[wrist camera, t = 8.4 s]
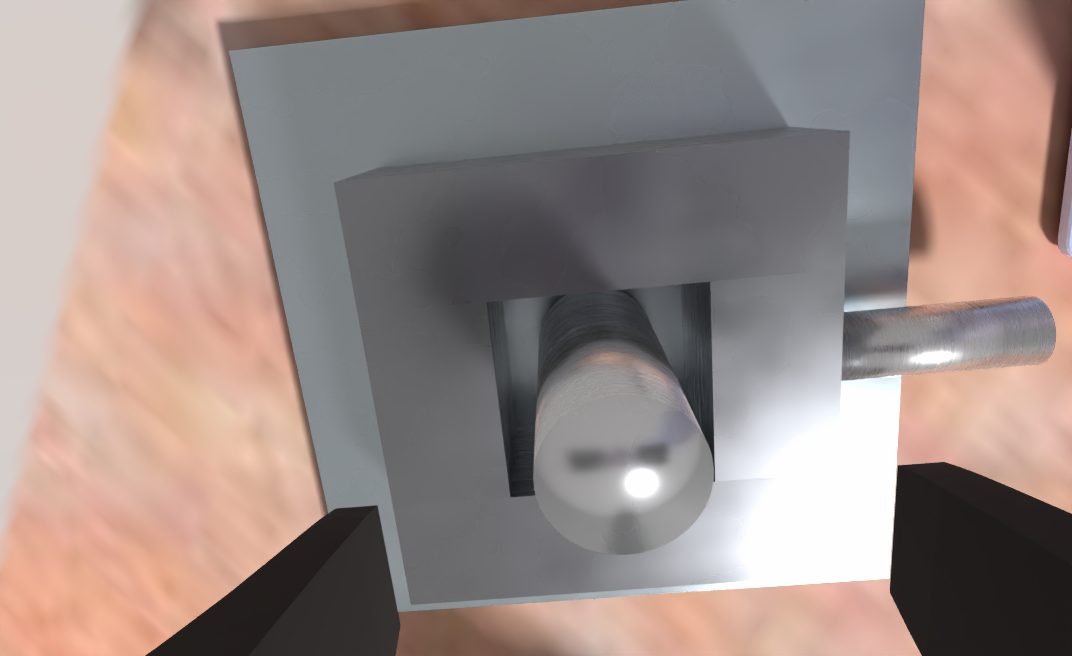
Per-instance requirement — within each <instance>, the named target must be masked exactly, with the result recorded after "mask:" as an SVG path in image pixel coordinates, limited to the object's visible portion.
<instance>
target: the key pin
mask: <svg viewBox="0 0 1072 656" xmlns="http://www.w3.org/2000/svg"><path fill="white" fill-rule="evenodd" d="M713 480H714V466H713V459H712V455H711V451H710V448H709V446H708V443H707V441H706V439H705V437H704V435H703V433H702V431H701V429H700V426H699V424H698V422H697V420H696V418H695V416H694V414H693V412H692V410H691V407H690V405H689V403H688V401H687V399H686V397H685V395H684V393H683V390H682V388H681V386H680V384H679V382H678V380H677V378H676V376H675V373H674V371H673V369H672V367H671V365H670V363H669V361H668V359H667V356H666V354H665V352H664V350H663V348H662V346H661V344H660V342H659V339H658V337H657V335H656V333H655V331H654V329H653V327H652V325H651V323H650V320H649V318H648V316H647V314H646V313H645V311H644V310H643V308H642V307H641V306H640V305H639V304H638V303H637V302H636V301H635V300H634V299H633V298H631V297H630V296H628V295H627V294H625V293H623V292H621V291H618V290H613V291H602V292H591V293H580V294H569V295H566V296H564V297H563V298H561V299H560V300H559V301H558V302H556V303H555V304H554V306H553V307H552V308H551V309H550V310H549V312H548V313H547V315H546V317H545V319H544V321H543V323H542V326H541V329H540V334H539V351H538V375H537V399H536V422H535V446H534V470H533V482H534V490H535V494H536V499H537V501H538V504H539V506H540V508H541V510H542V512H543V514H544V515H545V517H546V518H547V520H548V521H549V522H550V524H551V525H552V526H553V527H554V528H555V529H556V530H557V531H558V532H559V533H560V534H562V535H563V536H564V537H566V538H567V539H568V540H570V541H572V542H573V543H575V544H577V545H579V546H581V547H584V548H586V549H589V550H592V551H596V552H599V553H605V554H614V555H628V554H637V553H643V552H647V551H650V550H654V549H656V548H659V547H661V546H664V545H666V544H668V543H669V542H671V541H673V540H675V539H676V538H678V537H679V536H680V535H682V534H683V533H684V532H685V531H687V530H688V529H689V528H690V527H691V526H692V525H693V524H694V522H695V521H696V520H697V519H698V518H699V516H700V515H701V513H702V512H703V510H704V508H705V506H706V504H707V502H708V500H709V497H710V494H711V491H712V486H713Z"/></svg>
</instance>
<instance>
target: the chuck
mask: <svg viewBox="0 0 1072 656" xmlns="http://www.w3.org/2000/svg"><path fill="white" fill-rule="evenodd" d="M924 7H925V0H684V1H675V2H666V3H657V4H648V5H639V6H630V7H621V8H612V9H603V10H594V11H585V12H576V13H567V14H557V15H548V16H539V17H530V18H521V19H512V20H503V21H494V22H485V23H476V24H467V25H458V26H449V27H440V28H430V29H421V30H412V31H403V32H394V33H385V34H376V35H367V36H358V37H349V38H340V39H331V40H322V41H313V42H303V43H294V44H285V45H276V46H267V47H258V48H249V49H240V50H231V51H229V54H230V59H231V63H232V68H233V73H234V77H235V82H236V87H237V91H238V96H239V101H240V105H241V110H242V114H243V119H244V124H245V128H246V133H247V138H248V142H249V147H250V152H251V156H252V161H253V166H254V170H255V175H256V180H257V184H258V189H259V194H260V198H261V203H262V207H263V212H264V217H265V221H266V226H267V231H268V235H269V240H270V245H271V249H272V254H273V259H274V263H275V268H276V273H277V277H278V282H279V286H280V291H281V296H282V300H283V305H284V310H285V314H286V319H287V324H288V328H289V333H290V338H291V342H292V347H293V352H294V356H295V361H296V365H297V370H298V375H299V379H300V384H301V389H302V393H303V398H304V403H305V407H306V412H307V417H308V421H309V426H310V431H311V435H312V440H313V445H314V449H315V454H316V458H317V463H318V468H319V472H320V477H321V482H322V486H323V491H324V496H325V500H326V505H327V510H328V513H330V512H331V511H333V510H334V509H336V508H348V507H361V506H374V505H378V510H379V515H380V521H381V526H382V531H383V536H384V542H385V547H386V552H387V557H388V563H389V568H390V573H391V578H392V584H393V589H394V594H395V599H396V605H397V610H398V612H408V611H422V610H436V609H451V608H465V607H479V606H494V605H508V604H522V603H537V602H551V601H565V600H580V599H594V598H608V597H623V596H637V595H651V594H666V593H680V592H694V591H709V590H723V589H737V588H752V587H766V586H780V585H795V584H809V583H823V582H838V581H852V580H866V579H881V578H889V569H890V553H891V537H892V521H893V504H894V488H895V472H896V456H897V440H898V424H899V408H900V392H901V376H908V375H920V374H932V373H944V372H956V371H968V370H980V369H992V368H1004V367H1016V366H1028V365H1039V364H1042V363H1044V362H1045V361H1047V360H1048V359H1049V357H1050V356H1051V354H1052V352H1053V350H1054V347H1055V342H1056V328H1055V323H1054V319H1053V316H1052V314H1051V312H1050V310H1049V308H1048V307H1047V306H1046V304H1045V303H1044V302H1043V301H1042V300H1040V299H1039V298H1037V297H1034V296H1022V297H1010V298H999V299H988V300H976V301H965V302H954V303H942V304H931V305H919V306H908V307H906V296H907V280H908V264H909V248H910V232H911V215H912V199H913V183H914V167H915V151H916V135H917V119H918V103H919V87H920V71H921V55H922V39H923V23H924ZM613 290H618V291H621V292H623V293H625V294H627V295H628V296H630V297H631V298H633V299H634V300H635V301H636V302H637V303H638V304H639V305H640V306H641V307H642V308H643V310H644V311H645V313H646V314H647V316H648V318H649V320H650V323H651V325H652V327H653V329H654V331H655V333H656V335H657V337H658V339H659V342H660V344H661V346H662V348H663V350H664V352H665V354H666V356H667V359H668V361H669V363H670V365H671V367H672V369H673V371H674V373H675V376H676V378H677V380H678V382H679V384H680V386H681V388H682V390H683V393H684V395H685V397H686V399H687V401H688V403H689V405H690V407H691V410H692V412H693V414H694V416H695V418H696V420H697V422H698V424H699V426H700V429H701V431H702V433H703V435H704V437H705V439H706V441H707V443H708V446H709V448H710V451H711V455H712V459H713V466H714V480H713V486H712V491H711V494H710V497H709V500H708V502H707V504H706V506H705V508H704V510H703V512H702V513H701V515H700V516H699V518H698V519H697V520H696V521H695V522H694V524H693V525H692V526H691V527H690V528H689V529H688V530H687V531H685V532H684V533H683V534H682V535H680V536H679V537H678V538H676V539H675V540H673V541H671V542H669V543H668V544H666V545H664V546H661V547H659V548H656V549H654V550H650V551H647V552H643V553H637V554H628V555H614V554H605V553H599V552H596V551H592V550H589V549H586V548H584V547H581V546H579V545H577V544H575V543H573V542H572V541H570V540H568V539H567V538H566V537H564V536H563V535H562V534H560V533H559V532H558V531H557V530H556V529H555V528H554V527H553V526H552V525H551V524H550V522H549V521H548V520H547V518H546V517H545V515H544V514H543V512H542V510H541V508H540V506H539V504H538V501H537V499H536V494H535V490H534V482H533V470H534V446H535V422H536V399H537V375H538V351H539V334H540V329H541V326H542V323H543V321H544V319H545V317H546V315H547V313H548V312H549V310H550V309H551V308H552V307H553V306H554V304H555V303H556V302H558V301H559V300H560V299H561V298H563V297H564V296H566V295H569V294H580V293H591V292H602V291H613Z"/></svg>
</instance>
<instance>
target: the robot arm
mask: <svg viewBox="0 0 1072 656" xmlns="http://www.w3.org/2000/svg"><path fill="white" fill-rule="evenodd" d="M1058 248H1059V249H1060V251H1061V253H1063V254H1064V255H1066V256H1068V257H1071V258H1072V130H1071V138H1070V146H1069V154H1068V162H1067V170H1066V178H1065V186H1064V194H1063V202H1062V210H1061V218H1060V225H1059V233H1058ZM890 593H891V595H892V597H893V600H894V602H895V604H896V606H897V608H898V610H899V612H900V614H901V616H902V618H903V620H904V622H905V624H906V626H907V628H908V630H909V632H910V634H911V636H912V638H913V640H914V642H915V643H916V645H917V647H918V649H919V651H920V653H921V655H922V656H1072V514H1071V513H1068V512H1066V511H1064V510H1061V509H1059V508H1057V507H1055V506H1052V505H1050V504H1048V503H1045V502H1043V501H1041V500H1038V499H1036V498H1034V497H1031V496H1029V495H1027V494H1025V493H1022V492H1020V491H1018V490H1015V489H1013V488H1011V487H1008V486H1006V485H1004V484H1001V483H999V482H996V481H994V480H991V479H989V478H987V477H984V476H982V475H979V474H977V473H974V472H972V471H969V470H966V469H963V468H961V467H958V466H955V465H952V464H949V463H945V462H939V463H925V464H912V465H899V466H898V472H897V487H896V503H895V519H894V535H893V550H892V566H891V582H890ZM399 630H400V620H399V615H398V610H397V605H396V599H395V594H394V589H393V584H392V578H391V573H390V568H389V563H388V557H387V552H386V547H385V542H384V536H383V531H382V526H381V521H380V515H379V510H378V505H374V506H361V507H348V508H336V509H334V510H333V511H331V512H330V513H328V514H327V515H325V516H324V517H323V518H321V519H320V520H319V521H317V522H316V523H315V524H314V525H312V526H311V527H310V528H309V529H307V530H306V531H305V532H304V533H302V534H301V535H300V536H299V537H297V538H296V539H295V540H294V541H293V542H291V543H290V544H289V545H288V546H286V547H285V548H284V549H283V550H282V551H280V552H279V553H278V554H277V555H276V556H274V557H273V558H272V559H271V560H269V561H268V562H267V563H266V564H265V565H263V566H262V567H261V568H260V569H258V570H257V571H256V572H255V573H253V574H252V575H251V576H250V577H249V578H247V579H246V580H245V581H244V582H242V583H241V584H240V585H239V586H237V587H236V588H235V589H234V590H232V591H231V592H230V593H229V594H227V595H226V596H225V597H224V598H222V599H221V600H220V601H218V602H217V603H216V604H214V605H213V606H212V607H210V608H209V609H208V610H206V611H205V612H204V613H202V614H201V615H200V616H198V617H197V618H196V619H194V620H193V621H192V622H190V623H189V624H188V625H186V626H185V627H184V628H182V629H181V630H180V631H178V632H177V633H176V634H174V635H173V636H172V637H170V638H169V639H168V640H166V641H165V642H164V643H162V644H161V645H160V646H158V647H157V648H156V649H154V650H153V651H151V652H150V653H148V654H147V655H146V656H395V654H396V648H397V642H398V636H399Z"/></svg>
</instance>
